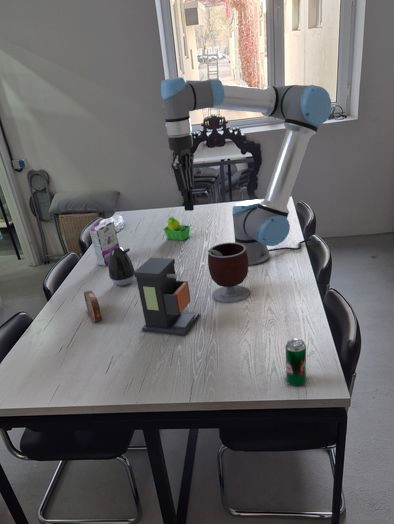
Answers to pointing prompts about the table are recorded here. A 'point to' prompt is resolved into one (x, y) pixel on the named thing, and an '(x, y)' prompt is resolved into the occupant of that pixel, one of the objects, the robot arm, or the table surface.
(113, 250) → the pump dispenser
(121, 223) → the knuckle duster
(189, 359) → the table surface
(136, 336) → the table surface
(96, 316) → the tin
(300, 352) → the soda can
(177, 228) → the fruit basket
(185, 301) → the push plate
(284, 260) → the table surface
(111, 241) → the candy bar box
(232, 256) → the mate gourd
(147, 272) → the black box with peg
